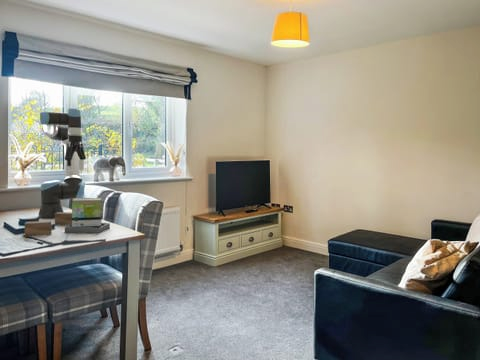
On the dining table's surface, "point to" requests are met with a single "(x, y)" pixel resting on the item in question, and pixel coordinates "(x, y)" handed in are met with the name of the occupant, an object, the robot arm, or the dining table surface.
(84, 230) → the tray
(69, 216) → the block
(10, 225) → the dining table surface
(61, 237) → the dining table surface
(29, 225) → the block
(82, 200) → the tea box
